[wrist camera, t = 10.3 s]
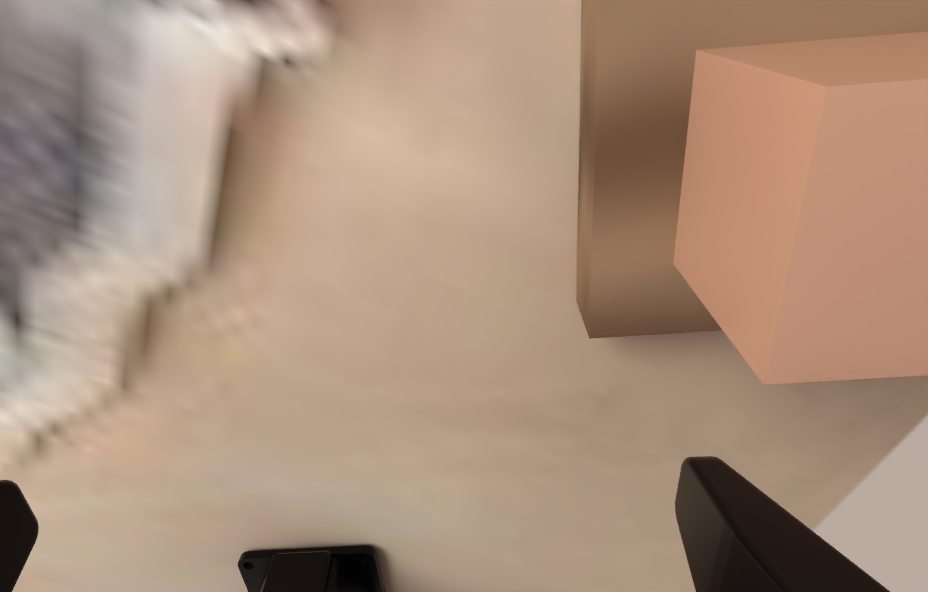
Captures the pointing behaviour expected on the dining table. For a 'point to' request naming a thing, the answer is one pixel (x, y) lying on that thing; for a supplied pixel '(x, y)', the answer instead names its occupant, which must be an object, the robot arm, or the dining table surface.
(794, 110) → the terracotta cube
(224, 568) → the dining table surface
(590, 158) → the walnut base
